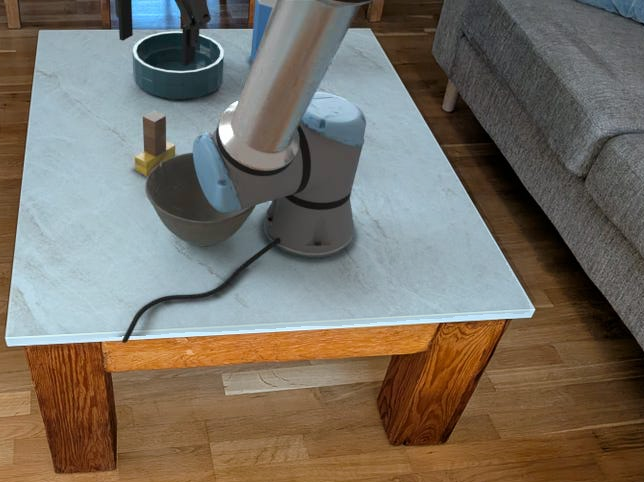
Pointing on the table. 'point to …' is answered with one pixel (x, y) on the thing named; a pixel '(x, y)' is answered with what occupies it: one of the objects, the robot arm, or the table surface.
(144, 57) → the wash bowl
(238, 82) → the table surface
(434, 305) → the table surface
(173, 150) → the yellow-tipped brown block
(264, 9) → the water bottle
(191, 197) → the bowl
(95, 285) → the table surface
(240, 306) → the table surface
